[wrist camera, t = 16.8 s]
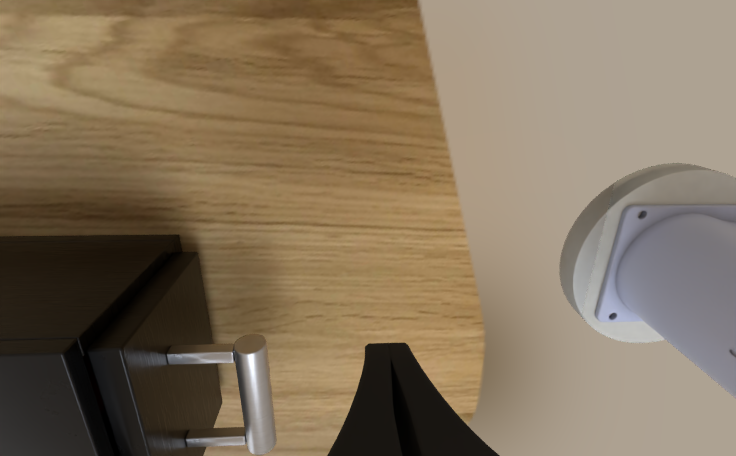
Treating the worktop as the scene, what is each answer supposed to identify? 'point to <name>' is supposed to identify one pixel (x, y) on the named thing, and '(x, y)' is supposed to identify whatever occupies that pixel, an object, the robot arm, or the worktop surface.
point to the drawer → (177, 372)
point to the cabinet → (63, 333)
